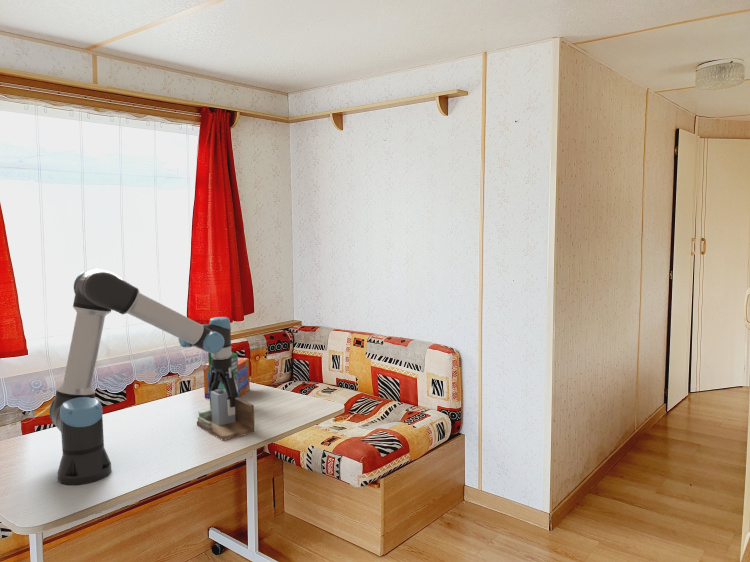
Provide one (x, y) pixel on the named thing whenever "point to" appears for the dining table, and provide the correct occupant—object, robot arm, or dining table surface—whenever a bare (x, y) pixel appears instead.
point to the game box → (242, 377)
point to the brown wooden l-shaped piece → (230, 430)
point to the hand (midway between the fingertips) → (223, 410)
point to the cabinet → (220, 408)
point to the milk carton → (231, 369)
